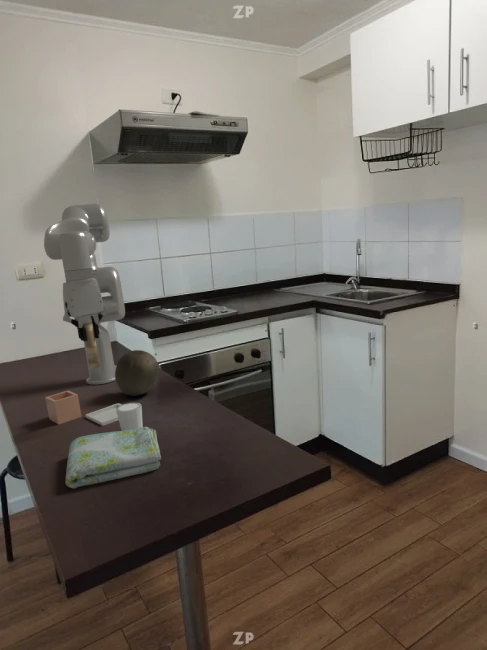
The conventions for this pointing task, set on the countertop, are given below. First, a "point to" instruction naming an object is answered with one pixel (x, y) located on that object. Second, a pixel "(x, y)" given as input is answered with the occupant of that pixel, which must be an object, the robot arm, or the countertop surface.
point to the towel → (112, 456)
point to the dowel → (91, 346)
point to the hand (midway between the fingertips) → (89, 338)
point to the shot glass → (130, 416)
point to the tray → (104, 415)
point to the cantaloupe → (136, 372)
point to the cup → (63, 407)
